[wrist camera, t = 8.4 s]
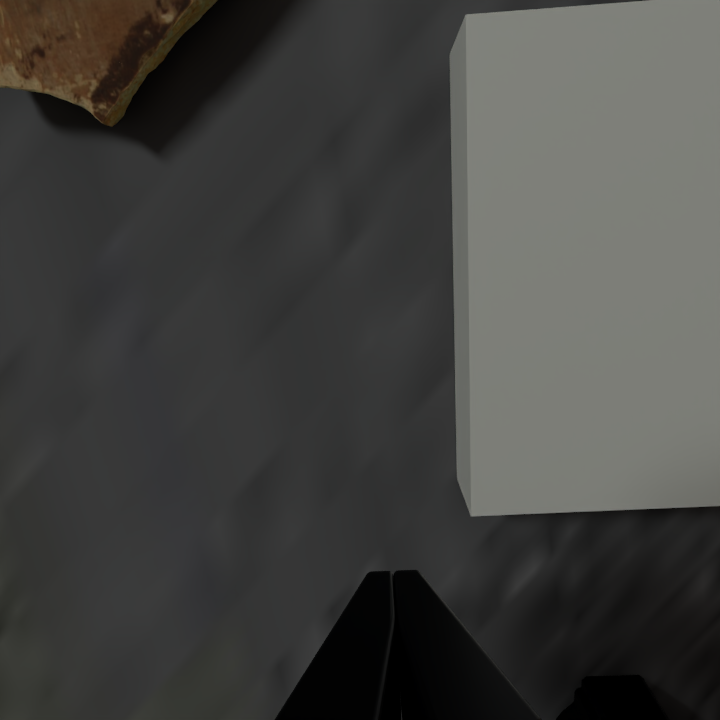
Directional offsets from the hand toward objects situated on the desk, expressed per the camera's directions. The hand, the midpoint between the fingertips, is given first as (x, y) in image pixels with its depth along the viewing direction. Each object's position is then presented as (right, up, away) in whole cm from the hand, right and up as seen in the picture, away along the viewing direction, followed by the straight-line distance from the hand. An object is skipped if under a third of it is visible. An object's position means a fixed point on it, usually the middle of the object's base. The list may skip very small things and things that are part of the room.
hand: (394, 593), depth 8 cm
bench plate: (+8, +7, +11) cm, 15 cm away
